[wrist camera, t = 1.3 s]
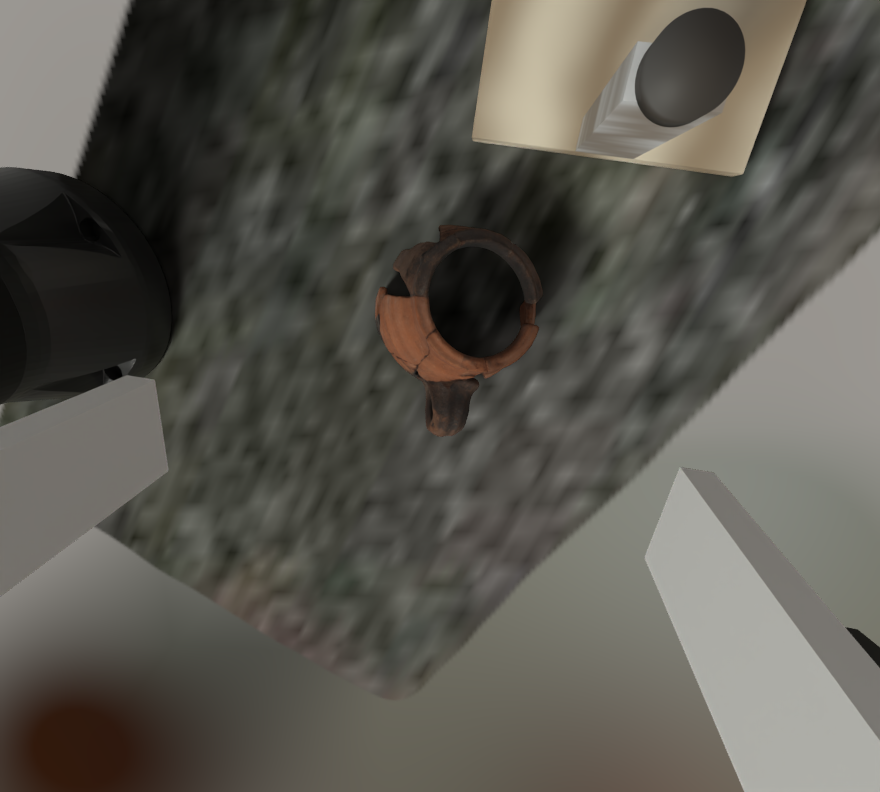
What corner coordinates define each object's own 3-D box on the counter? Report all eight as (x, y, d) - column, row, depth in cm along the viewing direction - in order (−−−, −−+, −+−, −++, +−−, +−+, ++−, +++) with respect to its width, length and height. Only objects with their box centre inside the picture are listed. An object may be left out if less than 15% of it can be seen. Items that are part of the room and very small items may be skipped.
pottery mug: (362, 246, 28) (387, 204, 20) (496, 251, 31) (563, 216, 23) (372, 430, 29) (400, 458, 21) (500, 418, 32) (565, 439, 24)
